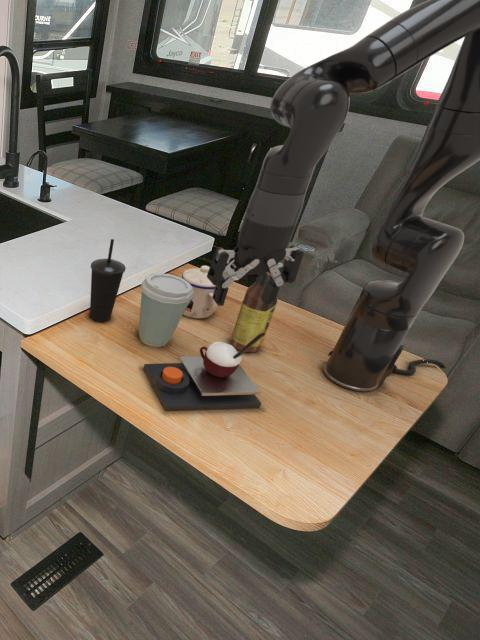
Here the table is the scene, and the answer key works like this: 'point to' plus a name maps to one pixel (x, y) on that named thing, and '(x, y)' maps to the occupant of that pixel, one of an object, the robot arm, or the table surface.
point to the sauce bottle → (253, 315)
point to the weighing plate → (217, 379)
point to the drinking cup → (105, 286)
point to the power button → (172, 375)
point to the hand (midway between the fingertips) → (242, 303)
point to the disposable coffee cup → (162, 307)
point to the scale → (192, 393)
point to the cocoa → (224, 357)
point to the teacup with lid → (200, 293)
